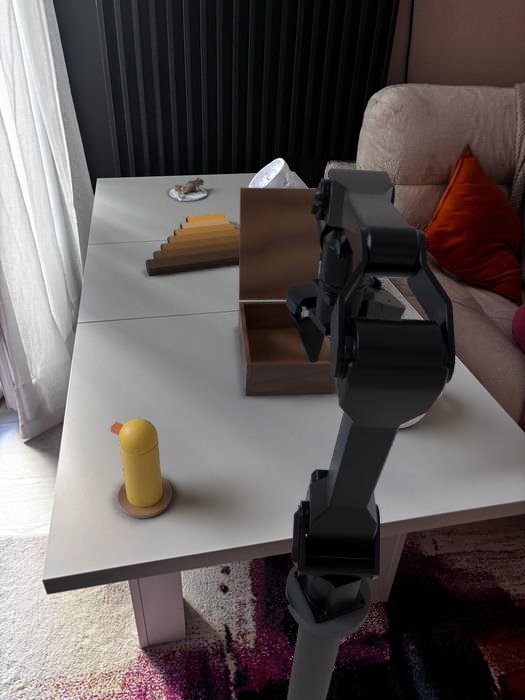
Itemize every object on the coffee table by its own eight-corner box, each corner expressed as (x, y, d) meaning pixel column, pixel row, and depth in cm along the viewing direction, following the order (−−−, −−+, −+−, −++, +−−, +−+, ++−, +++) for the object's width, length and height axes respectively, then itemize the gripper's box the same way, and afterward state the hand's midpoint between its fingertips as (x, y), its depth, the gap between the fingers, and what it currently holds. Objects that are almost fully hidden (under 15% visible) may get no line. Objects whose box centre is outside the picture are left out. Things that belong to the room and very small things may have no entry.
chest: (332, 393, 92) (337, 363, 88) (245, 395, 90) (246, 365, 87) (312, 328, 108) (316, 300, 104) (238, 329, 106) (238, 301, 103)
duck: (169, 488, 73) (164, 418, 66) (148, 513, 70) (140, 442, 63) (132, 471, 76) (123, 401, 68) (110, 494, 72) (98, 424, 65)
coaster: (177, 510, 71) (177, 507, 71) (122, 524, 69) (122, 521, 69) (165, 471, 77) (165, 468, 76) (114, 483, 74) (114, 480, 74)
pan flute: (149, 277, 122) (255, 262, 130) (148, 263, 120) (255, 249, 128) (128, 232, 140) (222, 222, 148) (127, 219, 138) (222, 210, 146)
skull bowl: (310, 197, 163) (291, 162, 155) (269, 223, 165) (249, 190, 157) (300, 185, 171) (282, 151, 163) (262, 210, 173) (242, 177, 165)
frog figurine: (193, 184, 172) (193, 172, 169) (216, 195, 164) (215, 183, 162) (161, 191, 166) (160, 178, 163) (183, 203, 158) (182, 190, 156)
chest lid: (325, 189, 95) (320, 184, 99) (240, 188, 93) (238, 183, 97) (316, 299, 104) (312, 291, 108) (239, 300, 102) (237, 292, 106)
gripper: (449, 307, 60) (418, 414, 69) (364, 238, 74) (348, 334, 83) (359, 323, 57) (339, 433, 66) (288, 247, 71) (280, 346, 80)
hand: (328, 381), depth 74 cm, fingers open, 9 cm apart
